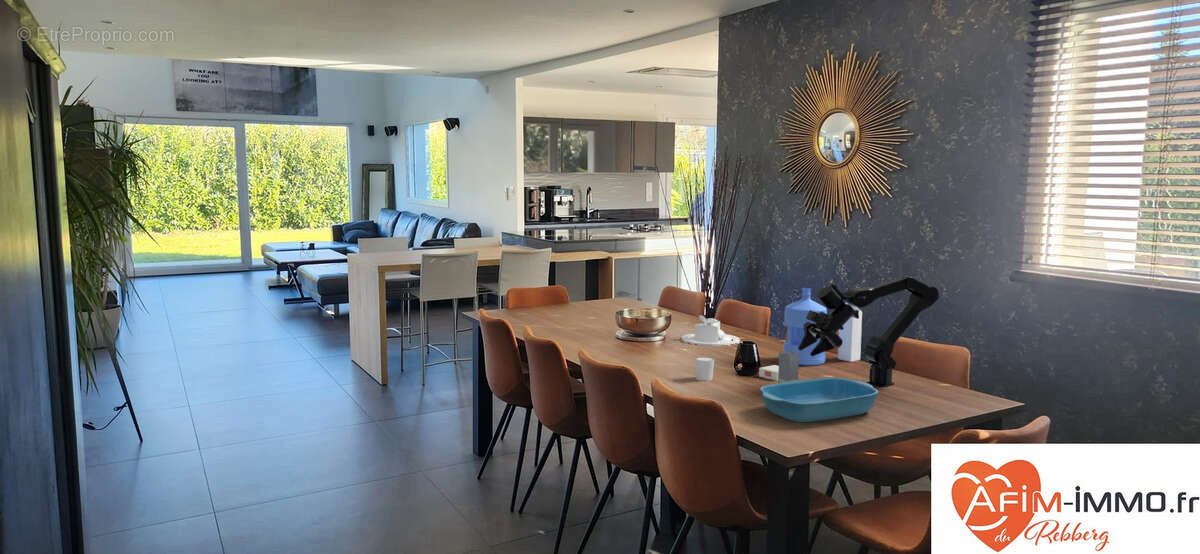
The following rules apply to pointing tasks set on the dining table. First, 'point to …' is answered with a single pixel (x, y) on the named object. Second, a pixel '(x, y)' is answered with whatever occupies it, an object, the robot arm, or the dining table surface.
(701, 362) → the white cylinder
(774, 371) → the white flat box
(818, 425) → the dining table surface
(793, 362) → the column
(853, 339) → the milk
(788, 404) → the casserole dish
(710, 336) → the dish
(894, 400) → the dining table surface
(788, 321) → the water jug
